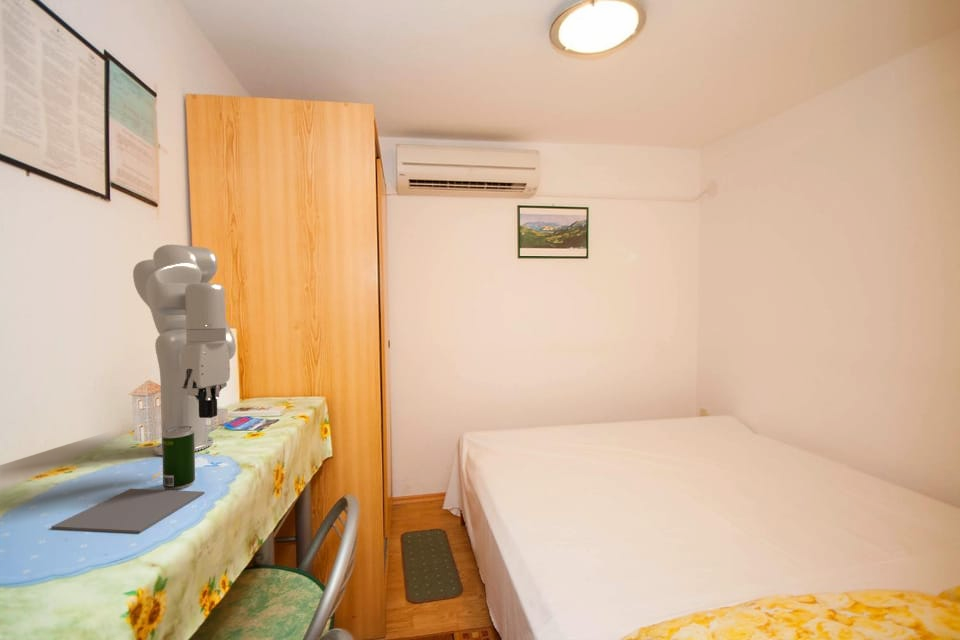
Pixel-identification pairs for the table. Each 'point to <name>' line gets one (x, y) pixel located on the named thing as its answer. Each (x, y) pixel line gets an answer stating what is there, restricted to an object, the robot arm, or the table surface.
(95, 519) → the mat
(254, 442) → the table surface
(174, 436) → the green soda can
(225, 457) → the table surface
